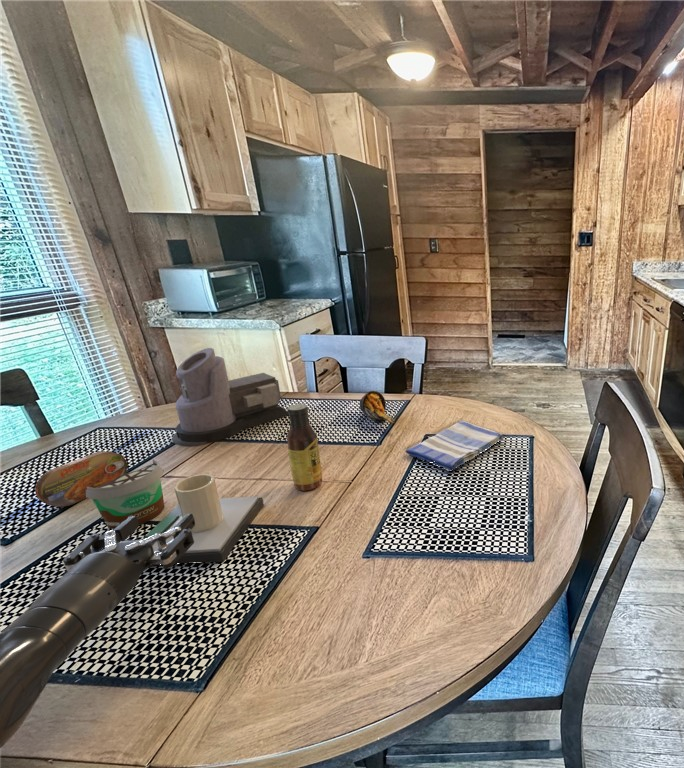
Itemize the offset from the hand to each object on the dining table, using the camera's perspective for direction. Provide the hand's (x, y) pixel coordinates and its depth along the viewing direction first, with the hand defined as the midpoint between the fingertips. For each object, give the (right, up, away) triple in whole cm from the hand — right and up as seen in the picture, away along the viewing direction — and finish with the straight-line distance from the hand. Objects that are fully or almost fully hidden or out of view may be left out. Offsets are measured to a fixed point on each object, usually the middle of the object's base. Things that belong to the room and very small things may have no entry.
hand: (163, 519), depth 70 cm
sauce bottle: (+10, -1, +29) cm, 31 cm away
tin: (-36, -2, +23) cm, 42 cm away
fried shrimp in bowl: (+16, +11, +64) cm, 67 cm away
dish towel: (+43, +4, +49) cm, 65 cm away
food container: (-17, -5, +16) cm, 24 cm away
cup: (-1, -4, +11) cm, 12 cm away
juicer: (-27, +10, +57) cm, 64 cm away
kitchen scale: (-3, -7, +12) cm, 14 cm away
